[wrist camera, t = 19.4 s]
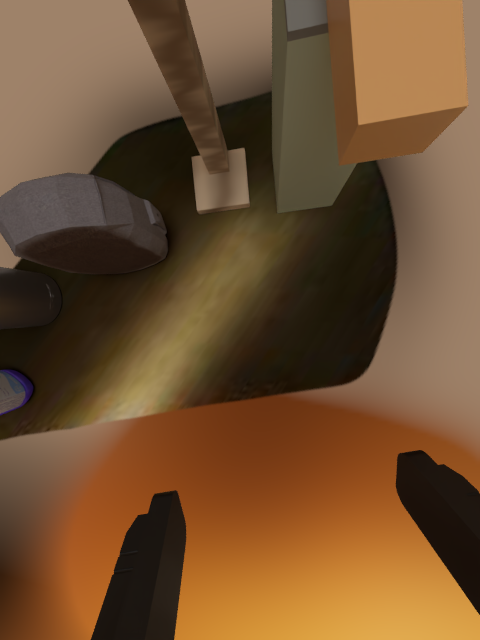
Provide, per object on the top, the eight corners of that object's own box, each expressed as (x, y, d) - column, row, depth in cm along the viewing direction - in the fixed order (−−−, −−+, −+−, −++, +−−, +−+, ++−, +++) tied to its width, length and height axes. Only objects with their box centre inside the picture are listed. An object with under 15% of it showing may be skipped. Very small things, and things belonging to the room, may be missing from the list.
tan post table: (199, 214, 40) (-61, -120, 9) (194, 162, 40) (-96, -380, 8) (250, 207, 39) (161, -200, 8) (245, 153, 39) (132, -499, 7)
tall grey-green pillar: (277, 213, 39) (287, 31, 13) (272, 152, 39) (272, -155, 13) (331, 205, 38) (457, -7, 12) (326, 143, 38) (446, -211, 12)
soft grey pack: (102, 282, 43) (-42, 262, 23) (89, 234, 43) (-67, 171, 23) (186, 257, 41) (106, 211, 21) (172, 206, 41) (80, 112, 21)
